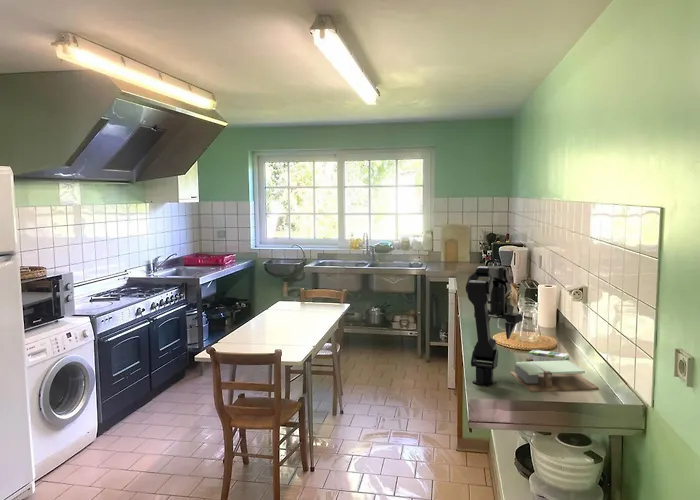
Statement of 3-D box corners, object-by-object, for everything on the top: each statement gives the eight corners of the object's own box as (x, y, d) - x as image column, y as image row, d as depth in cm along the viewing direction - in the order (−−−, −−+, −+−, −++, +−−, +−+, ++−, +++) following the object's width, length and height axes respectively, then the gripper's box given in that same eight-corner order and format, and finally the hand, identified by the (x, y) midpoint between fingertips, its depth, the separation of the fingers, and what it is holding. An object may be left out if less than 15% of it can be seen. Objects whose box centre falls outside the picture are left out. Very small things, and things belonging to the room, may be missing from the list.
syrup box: (534, 349, 222) (569, 352, 212) (534, 363, 222) (570, 367, 212) (527, 352, 218) (563, 355, 208) (528, 366, 218) (564, 371, 208)
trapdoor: (527, 384, 191) (527, 372, 191) (514, 372, 205) (514, 361, 205) (584, 382, 192) (584, 370, 191) (567, 370, 206) (567, 359, 205)
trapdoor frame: (530, 391, 187) (530, 374, 187) (509, 373, 209) (509, 357, 209) (598, 389, 188) (598, 372, 187) (571, 370, 210) (571, 355, 209)
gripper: (530, 297, 211) (530, 337, 212) (489, 293, 225) (489, 330, 226) (514, 301, 203) (514, 342, 204) (473, 296, 217) (473, 335, 218)
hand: (497, 337), depth 213 cm, fingers open, 9 cm apart
